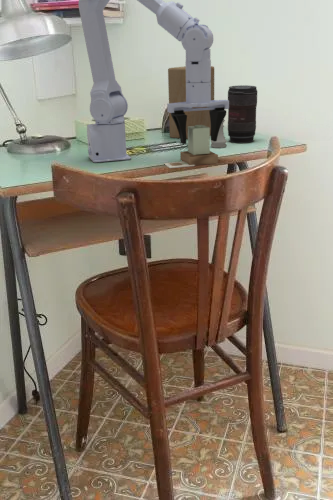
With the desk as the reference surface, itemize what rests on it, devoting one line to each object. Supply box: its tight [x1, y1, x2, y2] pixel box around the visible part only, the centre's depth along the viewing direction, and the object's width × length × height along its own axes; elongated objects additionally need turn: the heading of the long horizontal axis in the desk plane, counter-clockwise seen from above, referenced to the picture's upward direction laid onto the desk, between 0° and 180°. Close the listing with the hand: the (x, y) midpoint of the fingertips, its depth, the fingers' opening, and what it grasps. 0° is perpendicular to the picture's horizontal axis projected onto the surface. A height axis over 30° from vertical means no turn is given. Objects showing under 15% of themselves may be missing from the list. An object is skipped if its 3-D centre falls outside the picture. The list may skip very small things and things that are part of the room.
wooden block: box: [167, 65, 215, 140], centre depth 160 cm, size 10×10×20 cm
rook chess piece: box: [210, 118, 228, 149], centre depth 145 cm, size 4×4×8 cm
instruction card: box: [163, 161, 196, 169], centre depth 126 cm, size 6×5×1 cm
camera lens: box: [227, 84, 258, 144], centre depth 151 cm, size 8×8×15 cm
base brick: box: [179, 150, 219, 166], centre depth 129 cm, size 7×7×2 cm
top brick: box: [187, 125, 211, 155], centre depth 127 cm, size 4×4×6 cm
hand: (198, 142), depth 128 cm, fingers open, 7 cm apart
